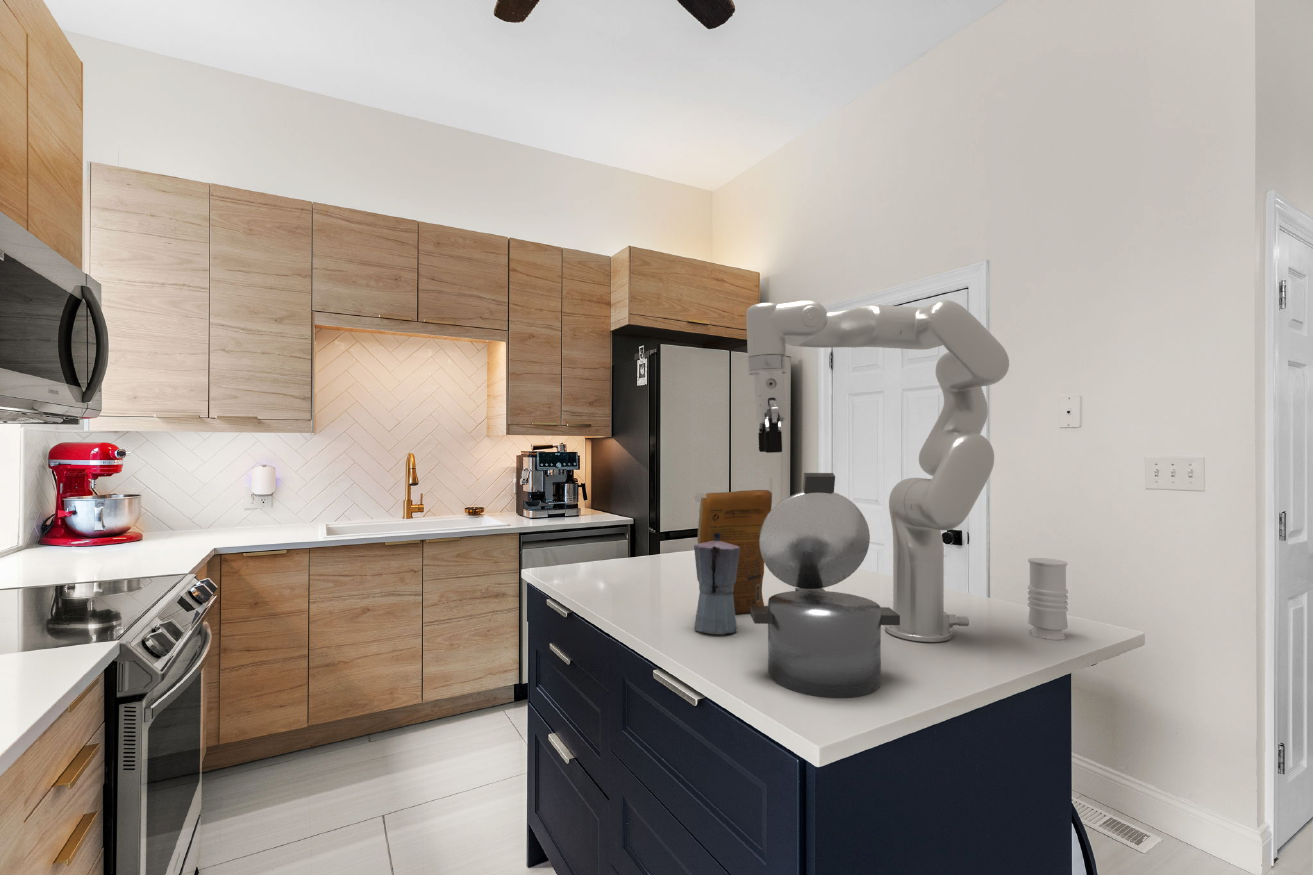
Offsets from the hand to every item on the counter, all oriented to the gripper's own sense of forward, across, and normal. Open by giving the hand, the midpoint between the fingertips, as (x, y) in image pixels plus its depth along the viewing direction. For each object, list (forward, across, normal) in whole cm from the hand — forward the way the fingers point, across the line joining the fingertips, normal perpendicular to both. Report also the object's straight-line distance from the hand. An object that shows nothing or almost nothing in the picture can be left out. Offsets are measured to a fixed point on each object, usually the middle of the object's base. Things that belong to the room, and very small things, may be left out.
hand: (770, 452), depth 123 cm
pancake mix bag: (+37, +18, +7) cm, 42 cm away
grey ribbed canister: (+39, +5, -55) cm, 68 cm away
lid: (+14, -14, -5) cm, 21 cm away
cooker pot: (+37, -20, -5) cm, 42 cm away
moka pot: (+37, +4, +12) cm, 39 cm away
